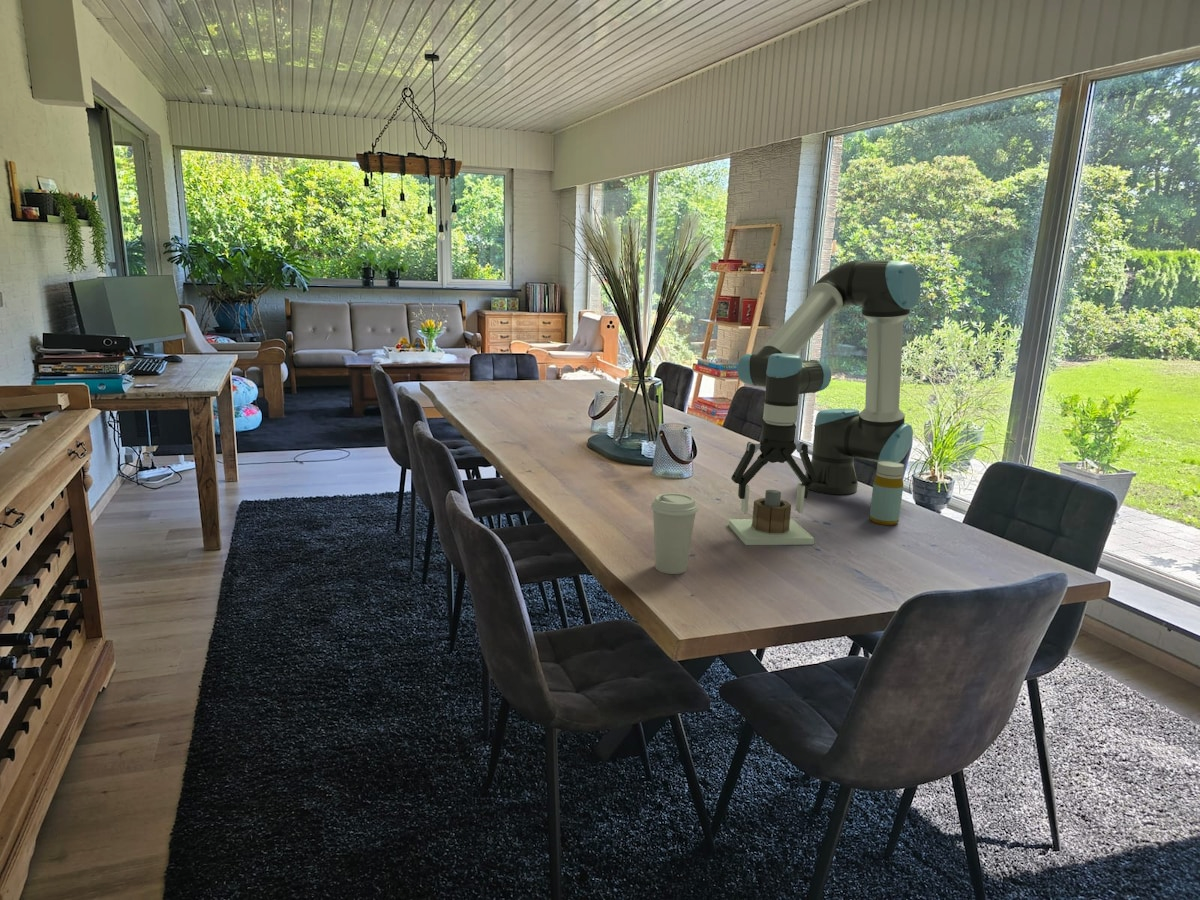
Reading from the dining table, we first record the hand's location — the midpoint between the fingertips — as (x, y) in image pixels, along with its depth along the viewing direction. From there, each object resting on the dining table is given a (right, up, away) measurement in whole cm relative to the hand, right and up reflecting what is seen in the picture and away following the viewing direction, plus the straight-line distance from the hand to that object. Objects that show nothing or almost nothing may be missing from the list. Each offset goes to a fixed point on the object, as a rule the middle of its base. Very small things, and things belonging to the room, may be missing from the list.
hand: (771, 511), depth 180 cm
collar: (0, -4, +1) cm, 4 cm away
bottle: (+31, -4, +14) cm, 35 cm away
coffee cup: (-26, -10, -22) cm, 35 cm away
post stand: (0, -5, +1) cm, 6 cm away
